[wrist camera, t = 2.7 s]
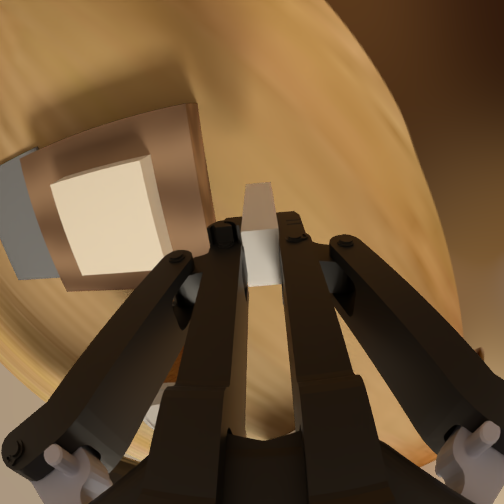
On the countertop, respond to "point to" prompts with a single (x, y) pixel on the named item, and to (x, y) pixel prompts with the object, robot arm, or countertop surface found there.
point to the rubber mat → (22, 226)
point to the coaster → (113, 217)
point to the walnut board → (118, 149)
